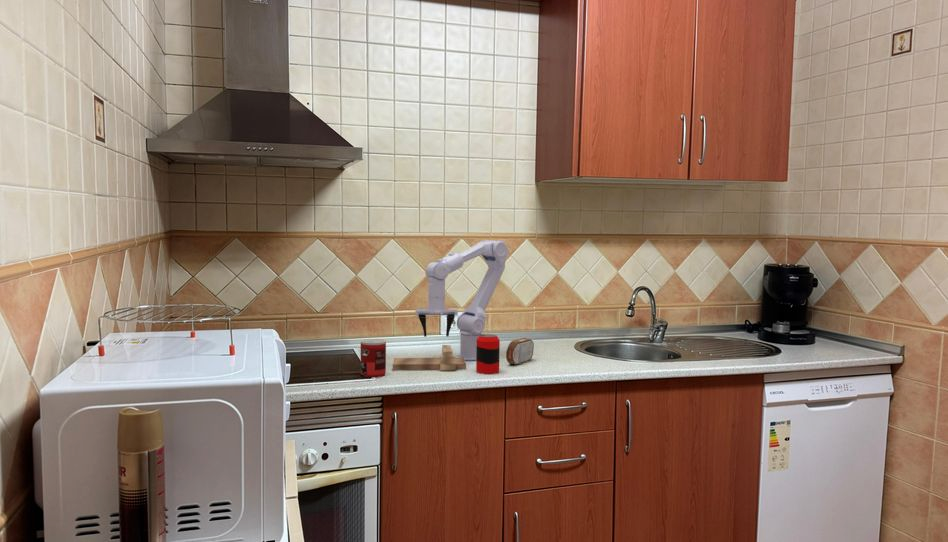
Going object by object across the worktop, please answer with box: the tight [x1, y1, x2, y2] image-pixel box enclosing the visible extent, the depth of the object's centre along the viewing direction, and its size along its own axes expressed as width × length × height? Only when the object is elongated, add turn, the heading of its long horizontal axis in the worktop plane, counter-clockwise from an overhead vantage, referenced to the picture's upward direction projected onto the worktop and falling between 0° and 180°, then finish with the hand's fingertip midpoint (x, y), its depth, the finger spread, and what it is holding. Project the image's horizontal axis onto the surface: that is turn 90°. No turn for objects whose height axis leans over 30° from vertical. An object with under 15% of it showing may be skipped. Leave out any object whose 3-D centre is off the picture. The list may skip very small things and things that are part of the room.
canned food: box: [360, 338, 387, 378], centre depth 205 cm, size 8×8×11 cm
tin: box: [505, 337, 535, 366], centre depth 225 cm, size 15×3×8 cm, turn 145°
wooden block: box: [439, 344, 457, 371], centre depth 217 cm, size 5×12×6 cm, turn 5°
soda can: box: [475, 333, 501, 375], centre depth 211 cm, size 8×8×12 cm
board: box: [392, 357, 467, 371], centre depth 217 cm, size 24×10×2 cm, turn 95°
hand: (436, 336), depth 223 cm, fingers open, 7 cm apart
